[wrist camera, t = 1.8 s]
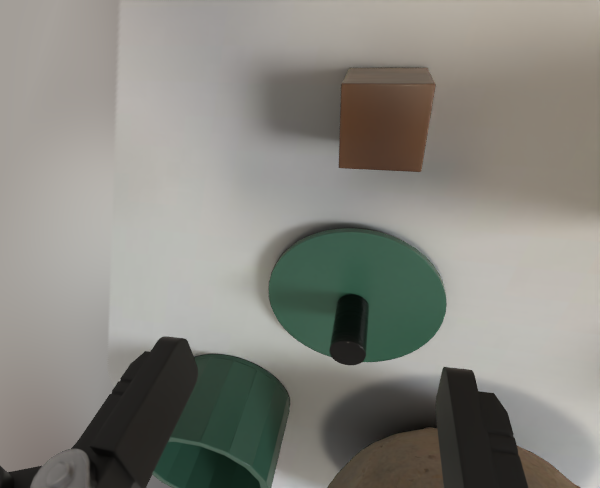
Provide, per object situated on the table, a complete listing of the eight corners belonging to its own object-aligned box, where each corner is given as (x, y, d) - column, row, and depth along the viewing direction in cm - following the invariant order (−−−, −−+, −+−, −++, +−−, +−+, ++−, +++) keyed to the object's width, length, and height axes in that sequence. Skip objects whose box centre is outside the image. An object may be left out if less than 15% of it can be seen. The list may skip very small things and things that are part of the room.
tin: (162, 380, 41) (117, 458, 34) (218, 337, 35) (176, 422, 28) (246, 433, 44) (220, 514, 38) (313, 403, 38) (296, 494, 31)
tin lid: (240, 286, 30) (214, 338, 26) (356, 186, 23) (348, 234, 18) (352, 370, 33) (346, 429, 29) (483, 306, 26) (502, 371, 22)
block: (346, 141, 21) (338, 168, 18) (349, 67, 19) (341, 83, 16) (416, 144, 21) (421, 172, 17) (427, 67, 18) (436, 83, 15)
